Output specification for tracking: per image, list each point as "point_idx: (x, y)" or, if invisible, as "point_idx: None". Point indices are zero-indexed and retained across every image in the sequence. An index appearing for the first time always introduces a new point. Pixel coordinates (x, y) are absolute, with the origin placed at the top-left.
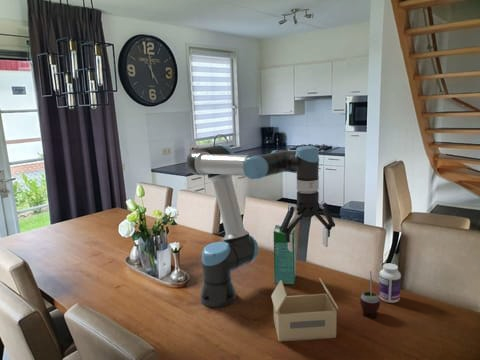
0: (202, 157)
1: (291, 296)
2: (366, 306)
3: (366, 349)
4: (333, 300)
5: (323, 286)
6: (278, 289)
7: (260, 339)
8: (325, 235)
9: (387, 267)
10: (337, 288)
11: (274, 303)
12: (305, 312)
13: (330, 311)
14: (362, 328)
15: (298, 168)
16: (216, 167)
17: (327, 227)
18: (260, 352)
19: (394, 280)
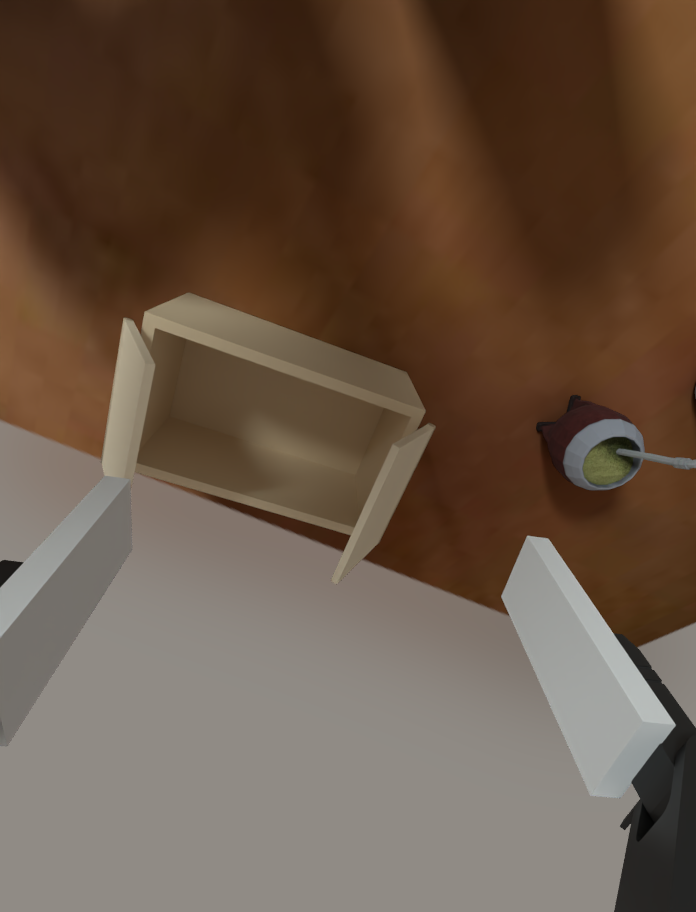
0: None
1: (244, 353)
2: (554, 462)
3: (403, 552)
4: (359, 561)
5: (354, 528)
6: (128, 392)
7: (97, 377)
8: (556, 697)
9: None
10: (643, 174)
11: (111, 409)
12: (243, 494)
13: (343, 529)
14: (472, 478)
15: None
16: None
17: (639, 833)
18: (81, 438)
19: None
